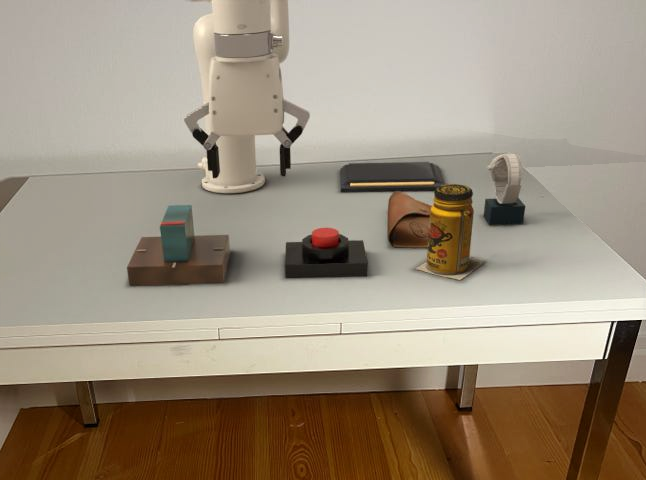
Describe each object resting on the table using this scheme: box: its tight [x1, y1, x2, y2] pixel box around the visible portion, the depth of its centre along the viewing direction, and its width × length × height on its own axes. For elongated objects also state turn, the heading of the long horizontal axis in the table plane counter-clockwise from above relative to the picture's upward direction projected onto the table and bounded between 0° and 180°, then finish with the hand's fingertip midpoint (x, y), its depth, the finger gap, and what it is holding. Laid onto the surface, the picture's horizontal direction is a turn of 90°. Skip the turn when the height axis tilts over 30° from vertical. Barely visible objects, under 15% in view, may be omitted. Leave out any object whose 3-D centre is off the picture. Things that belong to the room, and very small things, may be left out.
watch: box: [483, 153, 526, 226], centre depth 125 cm, size 6×8×11 cm
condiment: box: [414, 183, 487, 281], centre depth 109 cm, size 7×8×12 cm
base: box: [126, 234, 231, 287], centre depth 115 cm, size 14×13×3 cm
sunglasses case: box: [387, 191, 433, 249], centre depth 126 cm, size 18×7×7 cm
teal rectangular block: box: [159, 204, 196, 262], centre depth 113 cm, size 9×4×6 cm, turn 178°
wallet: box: [339, 161, 445, 193], centre depth 149 cm, size 20×2×15 cm
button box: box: [284, 233, 369, 279], centre depth 114 cm, size 12×9×4 cm
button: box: [311, 227, 340, 247], centre depth 112 cm, size 4×4×2 cm
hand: (249, 174), depth 108 cm, fingers open, 9 cm apart
